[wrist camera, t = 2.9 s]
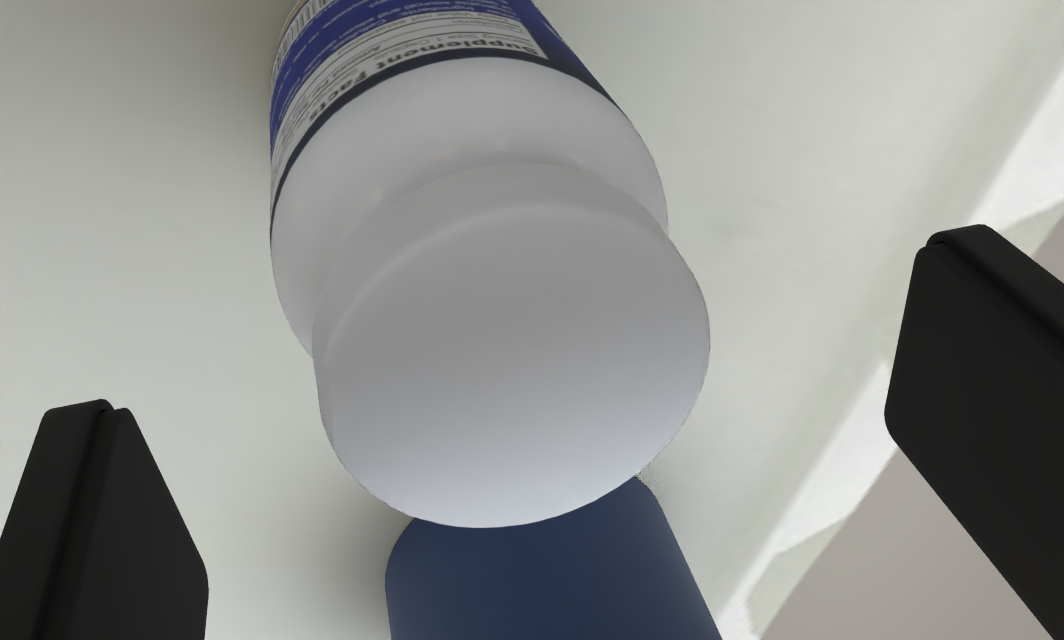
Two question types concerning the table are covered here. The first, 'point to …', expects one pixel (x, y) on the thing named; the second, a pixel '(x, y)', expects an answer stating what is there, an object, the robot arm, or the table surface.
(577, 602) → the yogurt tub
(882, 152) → the table surface
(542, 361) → the pill bottle
